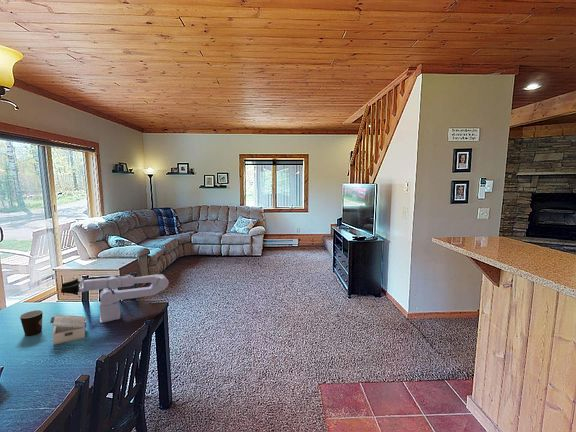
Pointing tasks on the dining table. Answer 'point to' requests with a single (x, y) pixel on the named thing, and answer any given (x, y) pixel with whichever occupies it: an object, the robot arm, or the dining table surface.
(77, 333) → the white box
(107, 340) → the dining table surface
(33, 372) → the dining table surface
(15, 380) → the dining table surface
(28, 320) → the coffee mug
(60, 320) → the lid
